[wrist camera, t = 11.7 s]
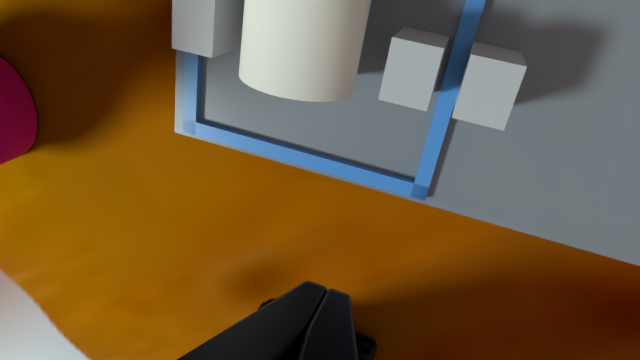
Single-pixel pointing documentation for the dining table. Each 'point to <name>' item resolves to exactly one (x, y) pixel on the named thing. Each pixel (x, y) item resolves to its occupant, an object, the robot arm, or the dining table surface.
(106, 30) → the dining table surface
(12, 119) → the pepper mill
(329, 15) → the white cylinder
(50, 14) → the dining table surface
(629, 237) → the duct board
